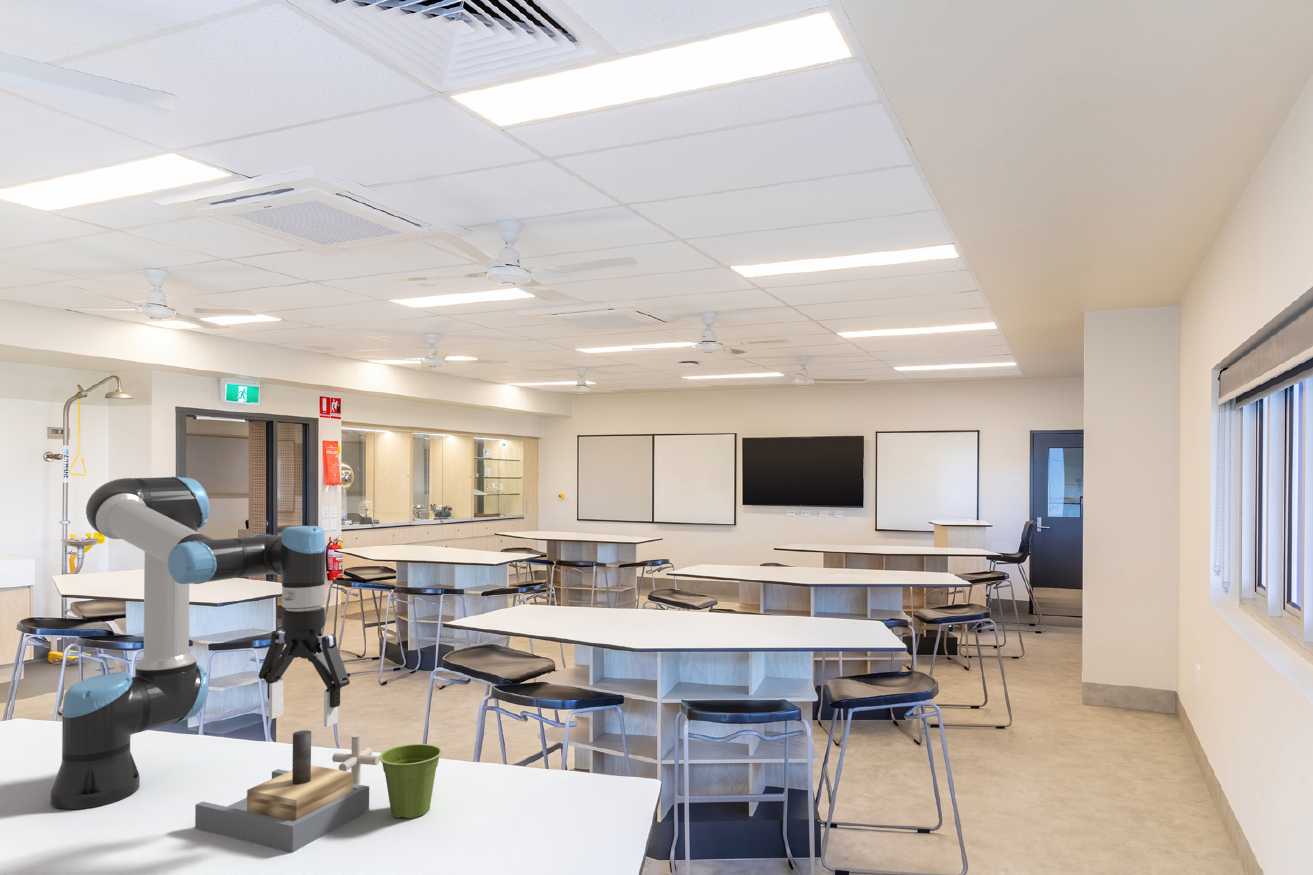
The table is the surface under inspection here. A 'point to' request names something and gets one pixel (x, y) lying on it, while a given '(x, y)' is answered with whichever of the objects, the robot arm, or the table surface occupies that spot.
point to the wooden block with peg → (299, 786)
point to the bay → (280, 820)
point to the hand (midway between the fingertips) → (303, 720)
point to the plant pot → (410, 777)
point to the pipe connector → (355, 758)
